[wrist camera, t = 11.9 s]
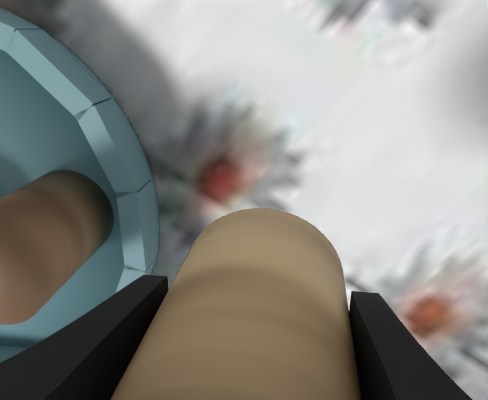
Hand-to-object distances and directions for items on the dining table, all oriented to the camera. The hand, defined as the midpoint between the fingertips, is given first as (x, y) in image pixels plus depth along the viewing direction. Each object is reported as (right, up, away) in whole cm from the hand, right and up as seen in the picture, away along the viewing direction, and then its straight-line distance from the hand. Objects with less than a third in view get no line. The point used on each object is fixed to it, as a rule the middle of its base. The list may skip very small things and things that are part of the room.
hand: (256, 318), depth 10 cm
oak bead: (0, +1, +2) cm, 2 cm away
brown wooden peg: (-9, +2, +11) cm, 14 cm away
